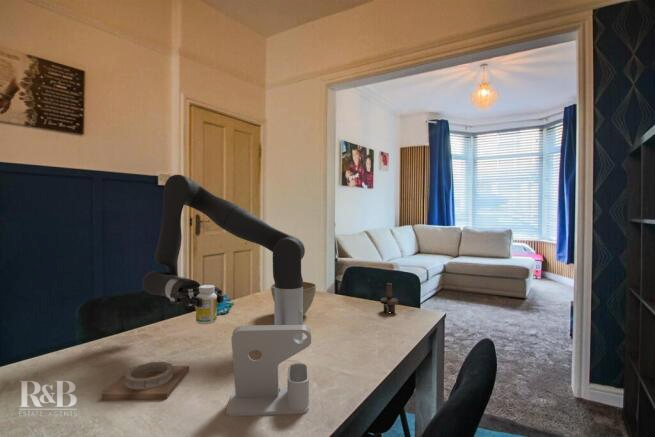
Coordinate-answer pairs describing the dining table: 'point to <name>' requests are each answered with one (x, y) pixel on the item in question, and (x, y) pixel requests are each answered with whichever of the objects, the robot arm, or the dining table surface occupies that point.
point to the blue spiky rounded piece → (224, 305)
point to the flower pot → (307, 294)
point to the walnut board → (146, 393)
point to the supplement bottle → (207, 305)
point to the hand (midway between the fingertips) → (211, 301)
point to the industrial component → (389, 300)
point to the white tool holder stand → (268, 371)
